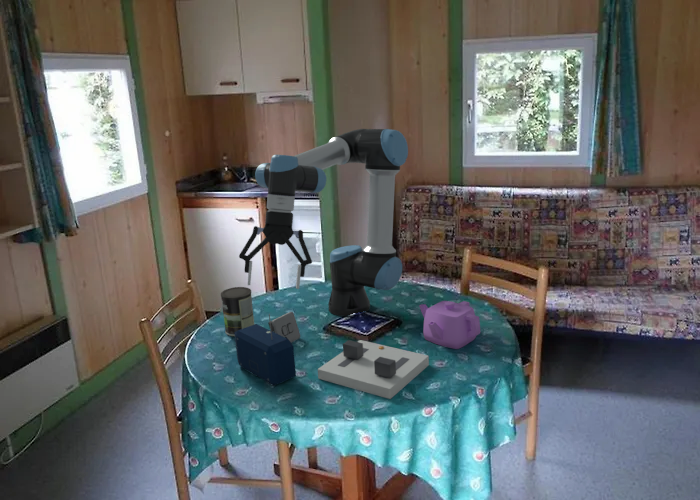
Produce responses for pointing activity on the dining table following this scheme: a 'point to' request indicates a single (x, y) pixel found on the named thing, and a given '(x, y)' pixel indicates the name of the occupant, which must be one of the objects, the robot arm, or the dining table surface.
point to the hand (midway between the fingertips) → (273, 286)
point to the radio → (265, 354)
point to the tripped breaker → (353, 349)
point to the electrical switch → (286, 326)
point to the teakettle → (450, 324)
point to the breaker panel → (363, 370)
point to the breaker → (385, 367)
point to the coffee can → (237, 309)
